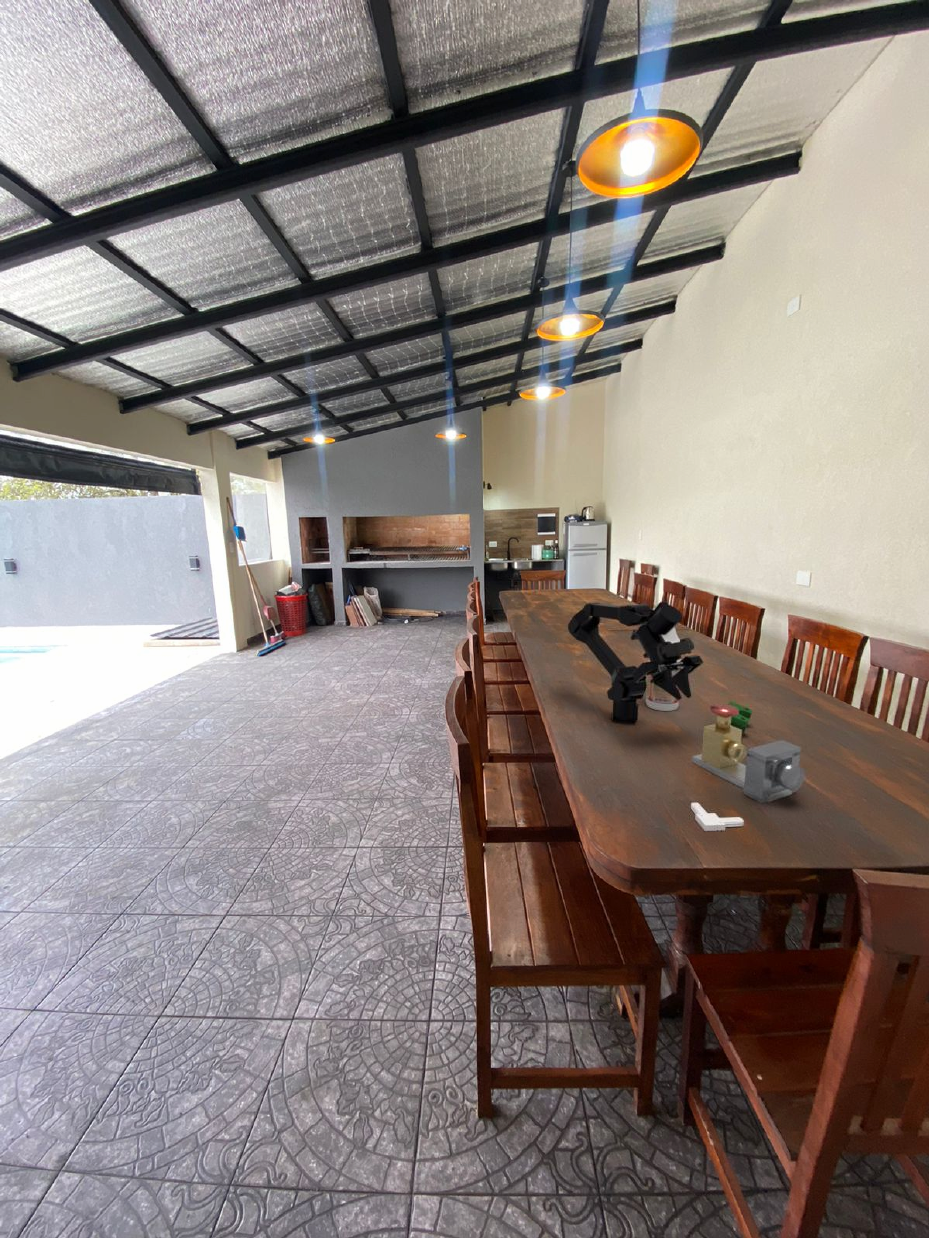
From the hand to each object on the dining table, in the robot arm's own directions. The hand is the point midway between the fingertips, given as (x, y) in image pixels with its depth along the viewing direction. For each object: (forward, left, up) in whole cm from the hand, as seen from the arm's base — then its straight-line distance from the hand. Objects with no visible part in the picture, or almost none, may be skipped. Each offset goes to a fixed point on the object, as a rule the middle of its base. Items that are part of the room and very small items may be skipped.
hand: (684, 698), depth 123 cm
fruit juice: (-5, +30, -13) cm, 33 cm away
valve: (+9, -9, -11) cm, 17 cm away
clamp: (+14, +18, -13) cm, 26 cm away
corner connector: (+5, -30, -14) cm, 34 cm away
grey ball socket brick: (+12, -12, -13) cm, 22 cm away
